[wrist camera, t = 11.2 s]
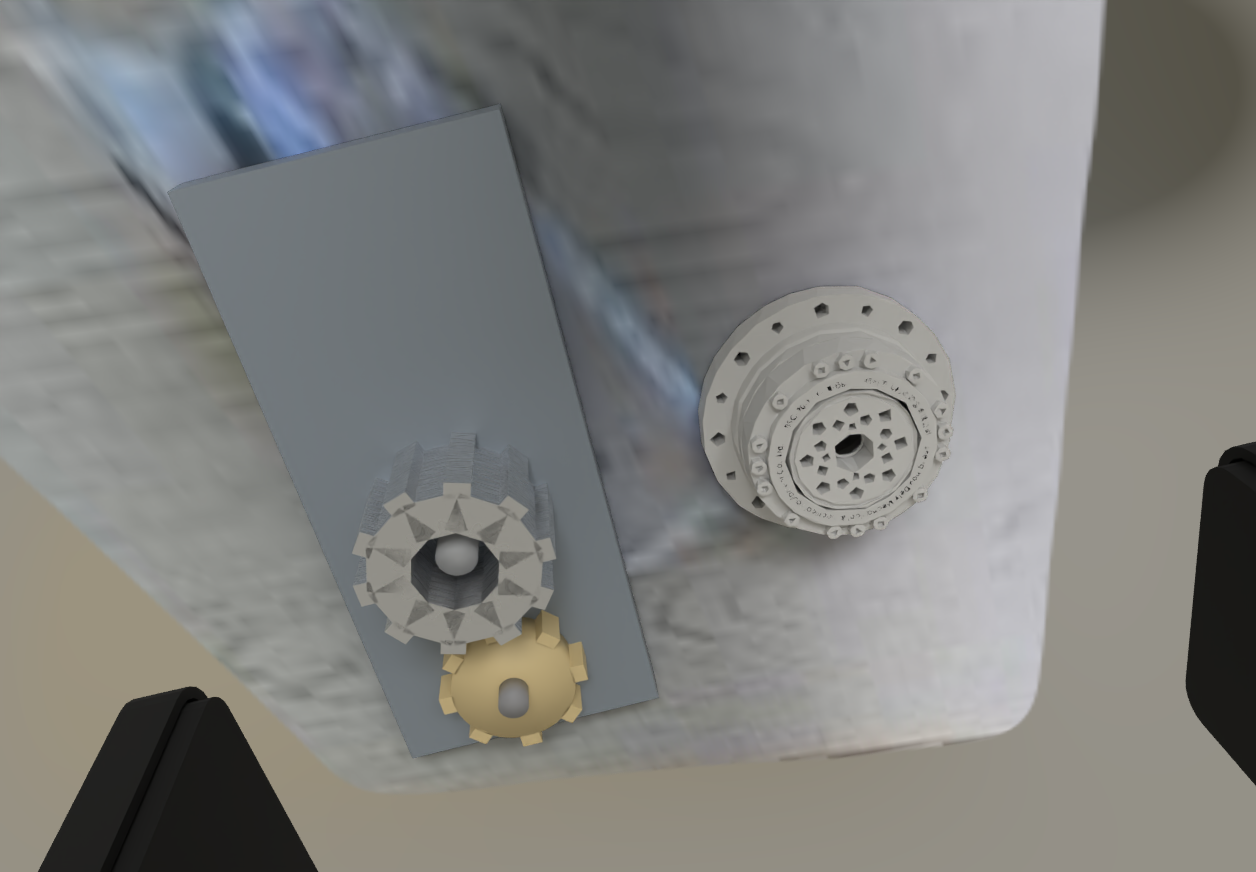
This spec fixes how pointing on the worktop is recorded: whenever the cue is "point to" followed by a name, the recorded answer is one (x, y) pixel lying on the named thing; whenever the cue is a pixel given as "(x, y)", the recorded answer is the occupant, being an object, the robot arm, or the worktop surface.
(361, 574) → the steel gear
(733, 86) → the worktop surface
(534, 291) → the gear board
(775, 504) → the mechanical component
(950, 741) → the worktop surface
